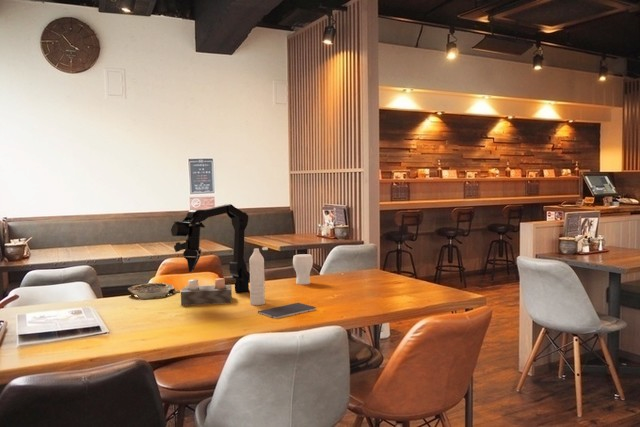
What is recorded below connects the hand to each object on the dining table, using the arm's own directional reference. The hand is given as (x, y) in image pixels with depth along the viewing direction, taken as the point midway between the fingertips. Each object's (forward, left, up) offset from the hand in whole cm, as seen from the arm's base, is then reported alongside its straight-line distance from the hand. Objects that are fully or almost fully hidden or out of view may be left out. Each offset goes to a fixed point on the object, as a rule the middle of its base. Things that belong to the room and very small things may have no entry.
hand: (191, 270), depth 244 cm
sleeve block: (-7, +1, -14) cm, 16 cm away
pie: (+22, -22, -15) cm, 35 cm away
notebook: (-42, +28, -15) cm, 52 cm away
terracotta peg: (-13, +1, -10) cm, 16 cm away
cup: (-55, -31, -14) cm, 64 cm away
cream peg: (-1, +1, -10) cm, 10 cm away
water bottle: (-31, +11, -14) cm, 36 cm away
